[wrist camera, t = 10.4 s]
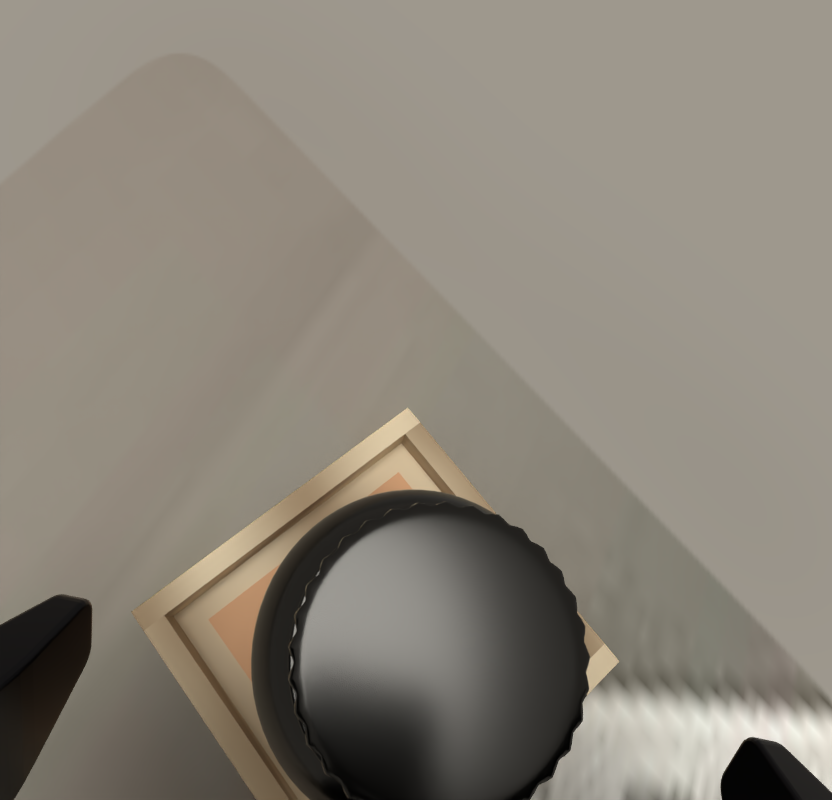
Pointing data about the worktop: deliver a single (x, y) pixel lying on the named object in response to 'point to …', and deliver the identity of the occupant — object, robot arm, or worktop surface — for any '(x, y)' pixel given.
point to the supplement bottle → (418, 655)
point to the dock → (251, 575)
